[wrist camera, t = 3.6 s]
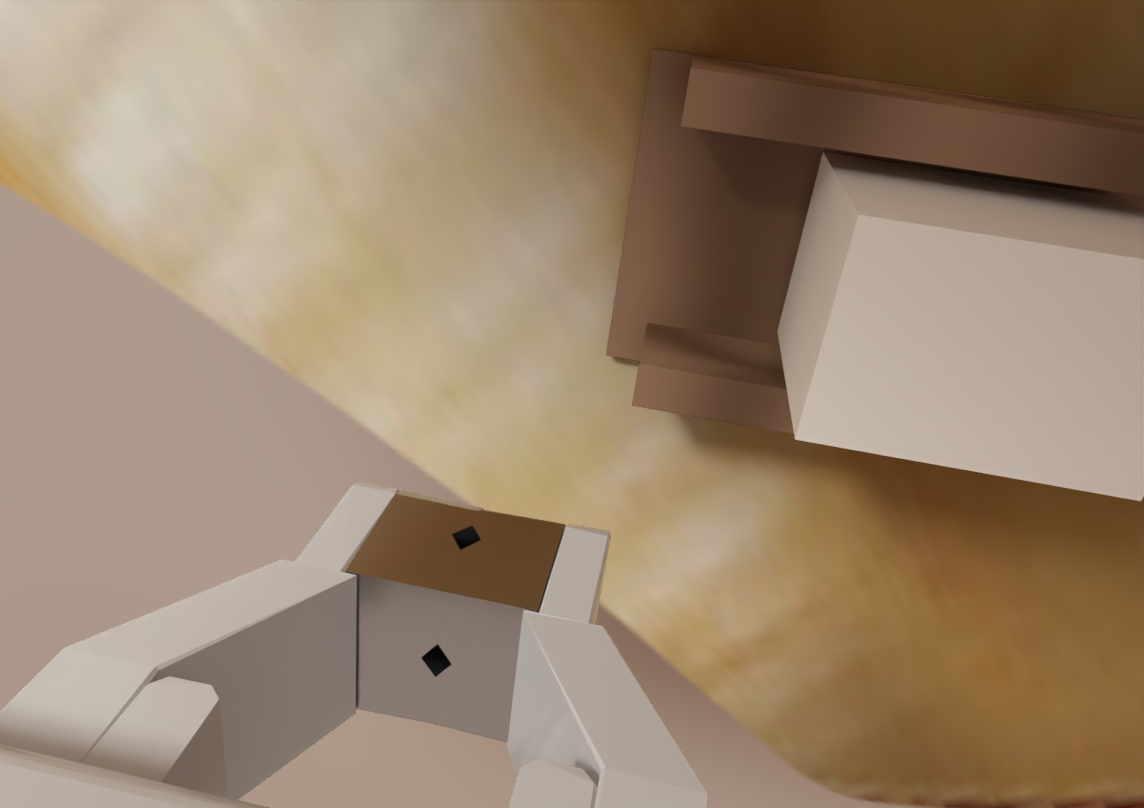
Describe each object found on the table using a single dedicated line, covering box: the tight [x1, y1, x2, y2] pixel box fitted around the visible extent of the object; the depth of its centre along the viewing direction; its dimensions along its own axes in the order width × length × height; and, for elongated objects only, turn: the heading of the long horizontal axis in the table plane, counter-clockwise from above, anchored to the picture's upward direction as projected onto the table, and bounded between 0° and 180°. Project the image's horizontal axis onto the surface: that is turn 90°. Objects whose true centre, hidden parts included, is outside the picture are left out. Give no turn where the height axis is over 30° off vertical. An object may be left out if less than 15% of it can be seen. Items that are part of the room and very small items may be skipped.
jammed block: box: [777, 152, 1144, 501], centre depth 19 cm, size 7×5×6 cm
